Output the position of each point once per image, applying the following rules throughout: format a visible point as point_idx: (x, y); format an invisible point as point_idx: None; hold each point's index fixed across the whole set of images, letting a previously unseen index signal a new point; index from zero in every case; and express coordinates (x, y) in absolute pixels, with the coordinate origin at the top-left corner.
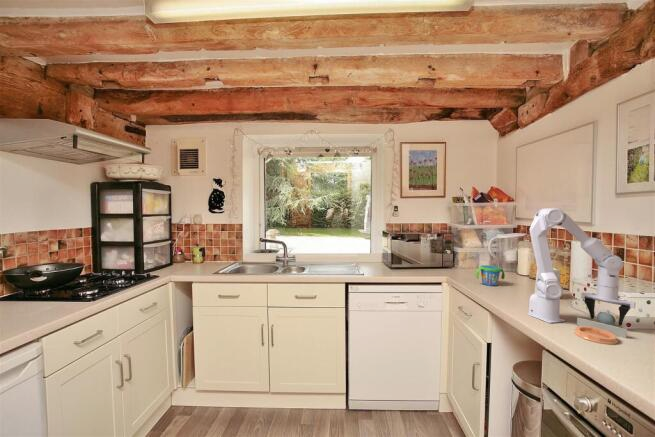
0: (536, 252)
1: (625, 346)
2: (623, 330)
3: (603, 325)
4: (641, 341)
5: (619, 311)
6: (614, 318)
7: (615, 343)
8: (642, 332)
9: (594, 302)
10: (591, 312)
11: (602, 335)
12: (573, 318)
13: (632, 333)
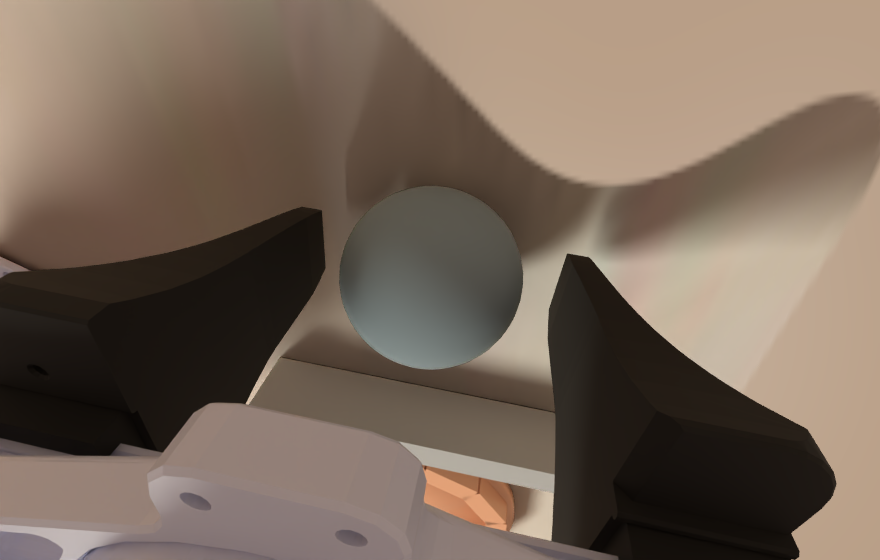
0: None
1: (543, 532)
2: None
3: (429, 458)
4: None
5: (554, 505)
6: (511, 315)
7: None
8: (791, 199)
9: (173, 341)
10: (275, 330)
11: (441, 492)
12: (182, 204)
13: (654, 305)
